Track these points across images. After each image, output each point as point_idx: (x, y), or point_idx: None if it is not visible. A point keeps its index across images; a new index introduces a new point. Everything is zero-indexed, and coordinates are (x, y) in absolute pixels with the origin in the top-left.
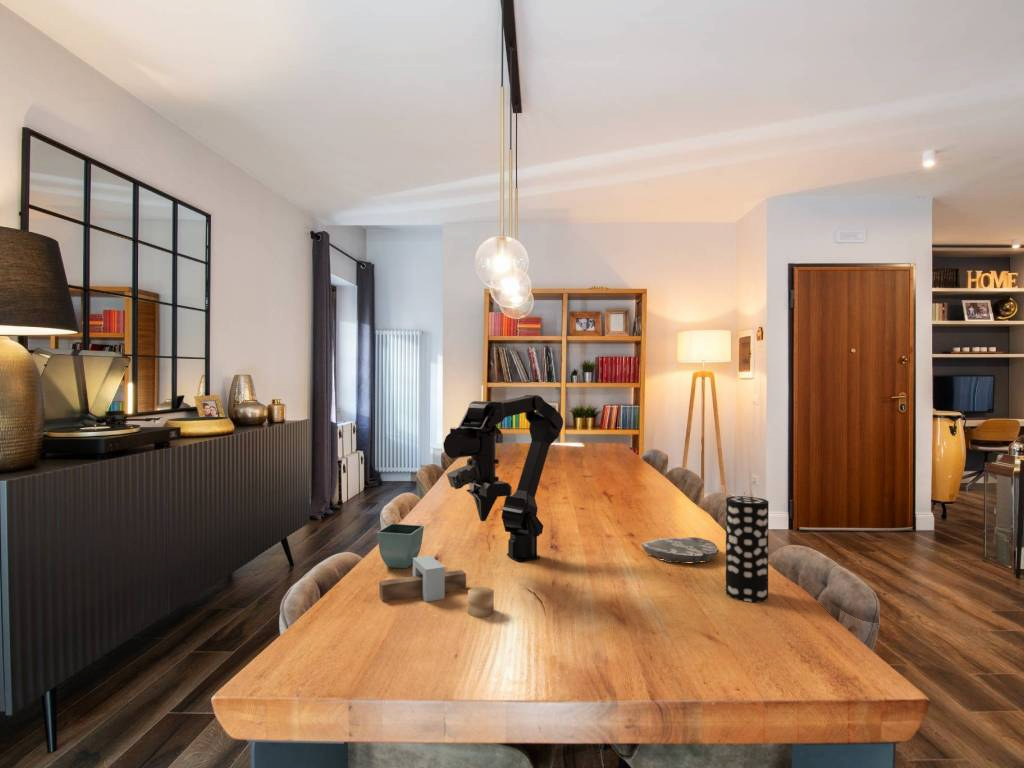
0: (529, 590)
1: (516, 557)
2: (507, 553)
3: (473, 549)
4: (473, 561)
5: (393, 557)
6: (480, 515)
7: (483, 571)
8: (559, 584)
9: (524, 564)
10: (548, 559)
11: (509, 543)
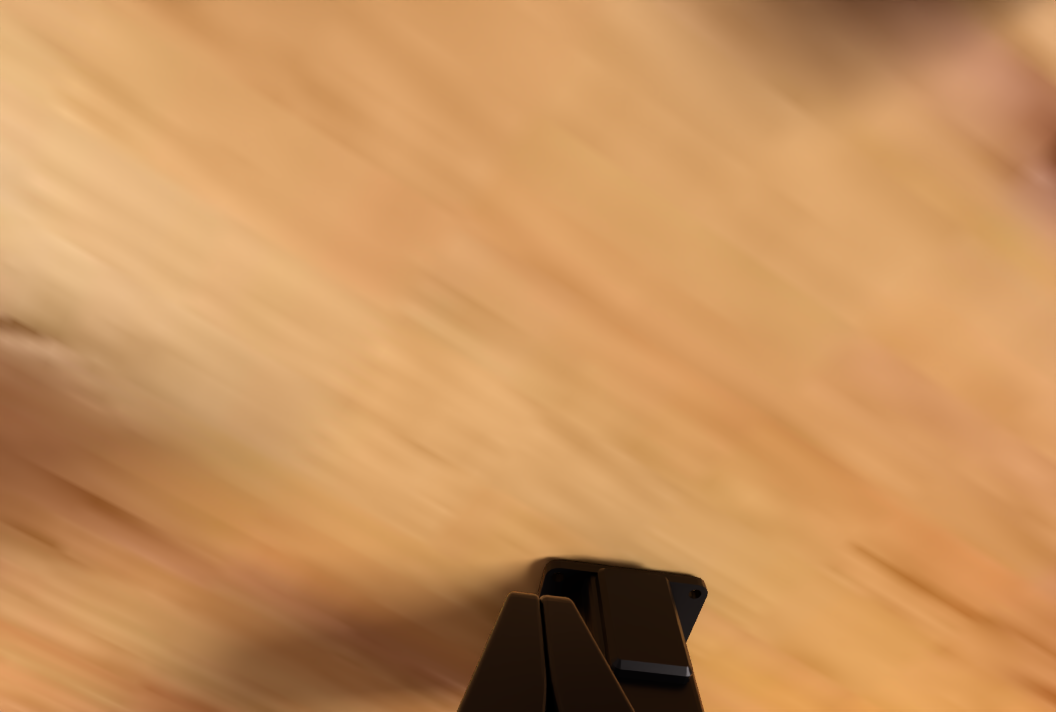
0: (7, 324)
1: (585, 581)
2: (701, 587)
3: (980, 497)
4: (772, 362)
5: None
6: (519, 671)
7: (530, 296)
8: (62, 514)
9: (492, 561)
10: None
11: (664, 643)
